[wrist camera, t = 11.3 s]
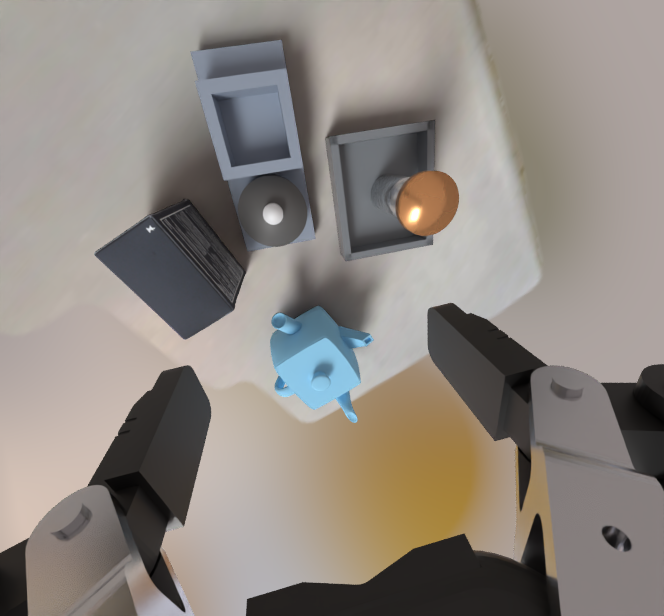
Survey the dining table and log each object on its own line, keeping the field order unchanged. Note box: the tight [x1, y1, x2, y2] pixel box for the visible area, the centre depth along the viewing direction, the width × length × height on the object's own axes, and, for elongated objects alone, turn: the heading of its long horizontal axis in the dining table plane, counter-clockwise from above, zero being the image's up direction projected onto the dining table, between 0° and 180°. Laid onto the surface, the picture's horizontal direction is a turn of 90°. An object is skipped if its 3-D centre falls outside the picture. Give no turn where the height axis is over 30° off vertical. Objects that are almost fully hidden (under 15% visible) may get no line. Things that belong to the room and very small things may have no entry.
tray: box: [325, 120, 435, 261], centre depth 34 cm, size 13×11×3 cm
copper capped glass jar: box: [371, 171, 459, 236], centre depth 30 cm, size 5×5×11 cm
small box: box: [94, 199, 246, 340], centre depth 30 cm, size 11×6×10 cm, turn 30°
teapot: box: [270, 306, 374, 422], centre depth 38 cm, size 18×14×10 cm
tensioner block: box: [191, 40, 316, 251], centre depth 29 cm, size 18×8×5 cm, turn 9°
